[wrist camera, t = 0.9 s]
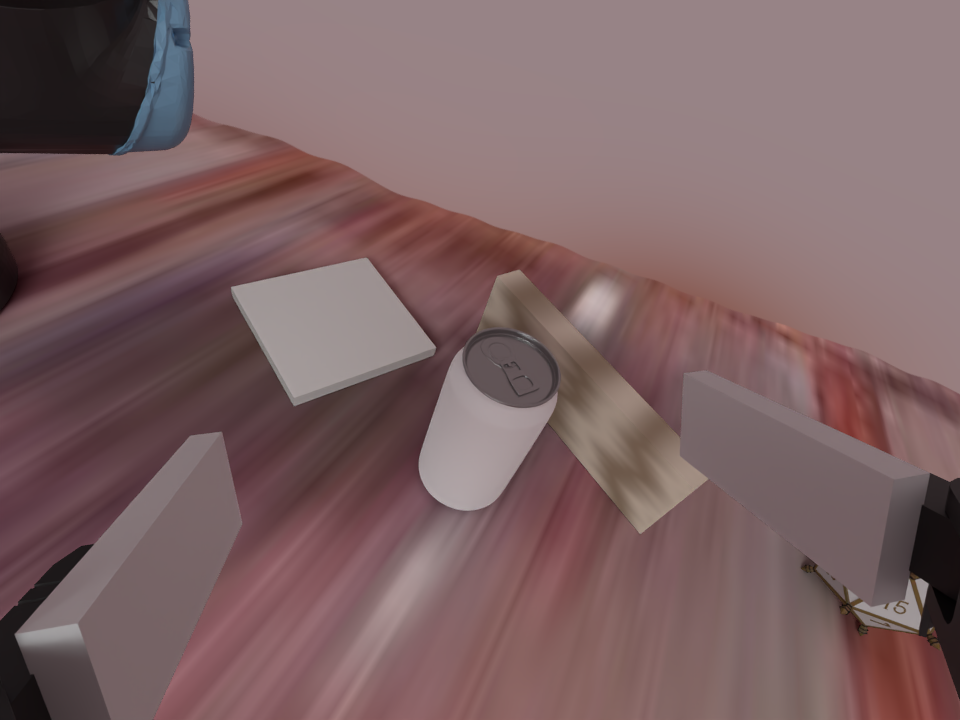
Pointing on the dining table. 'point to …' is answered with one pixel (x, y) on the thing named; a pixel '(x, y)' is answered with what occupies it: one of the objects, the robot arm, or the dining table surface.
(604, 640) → the dining table surface
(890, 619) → the game die
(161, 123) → the robot arm
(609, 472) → the beige brown patterned panel
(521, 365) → the can
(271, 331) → the pad
